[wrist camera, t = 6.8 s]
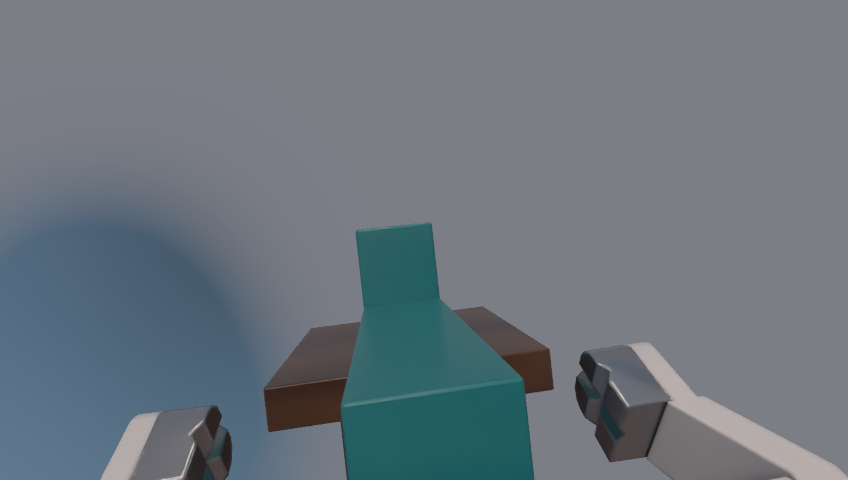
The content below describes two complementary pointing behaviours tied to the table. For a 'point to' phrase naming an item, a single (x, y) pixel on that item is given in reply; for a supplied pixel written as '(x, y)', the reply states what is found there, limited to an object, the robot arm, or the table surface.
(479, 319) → the shelf stand
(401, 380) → the teal l-shaped block
